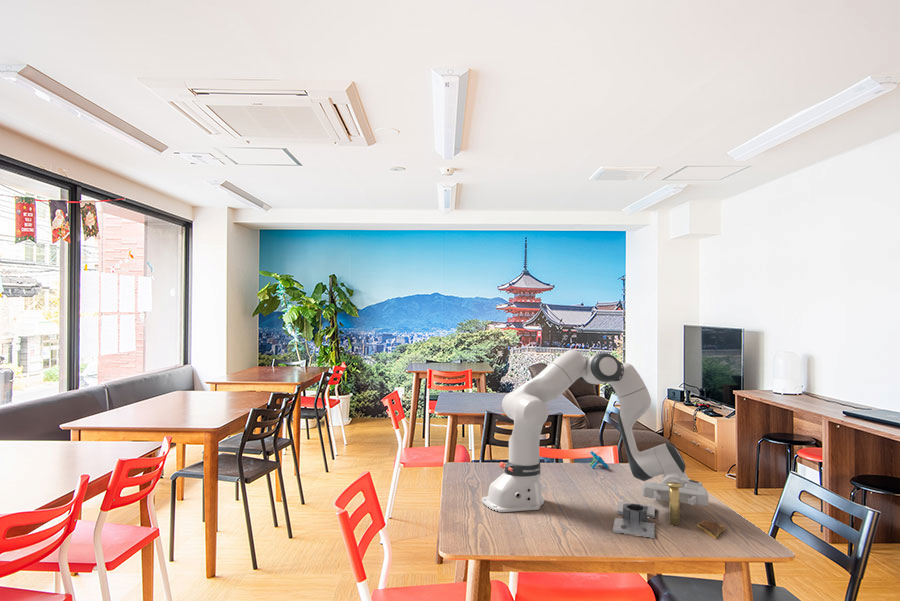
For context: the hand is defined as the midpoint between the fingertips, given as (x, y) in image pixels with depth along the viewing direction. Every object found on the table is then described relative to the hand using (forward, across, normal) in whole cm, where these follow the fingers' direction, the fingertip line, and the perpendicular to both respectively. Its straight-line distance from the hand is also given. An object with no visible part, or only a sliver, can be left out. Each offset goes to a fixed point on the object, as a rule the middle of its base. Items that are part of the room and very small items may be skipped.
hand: (674, 500), depth 163 cm
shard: (0, +12, +8) cm, 15 cm away
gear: (-57, -32, +8) cm, 66 cm away
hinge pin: (0, 0, +8) cm, 8 cm away
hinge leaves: (+1, -12, +8) cm, 14 cm away
